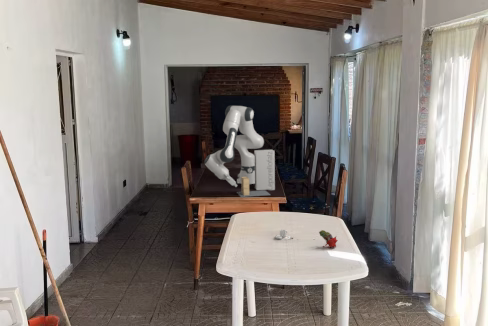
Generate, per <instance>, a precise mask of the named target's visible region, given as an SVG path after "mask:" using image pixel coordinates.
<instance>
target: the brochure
mask: <svg viewBox="0 0 488 326" xmlns="http://www.w3.org/2000/svg"><path fill="white" fill-rule="evenodd" d="M253 150H254V156H255V184H254V189H255V191H262V190H266V191H267V190H268V191H275V190H276V180H275V179H276V178H275V177H276V176H275V175H276V174H275V173H276V172H275V171H276V169H275V166H276V165H275V163H276V162H275V161H276V159H275V156H276V155H275V154H276V153H275V150H273V149H258V150H255V149H253Z"/></svg>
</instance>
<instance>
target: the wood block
mask: <svg viewBox="0 0 488 326" xmlns="http://www.w3.org/2000/svg"><path fill="white" fill-rule="evenodd" d="M240 184H241V185H240V186H241V192H242V194H243V195H249V191H250V184H249V178H248V177H241V183H240Z"/></svg>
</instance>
